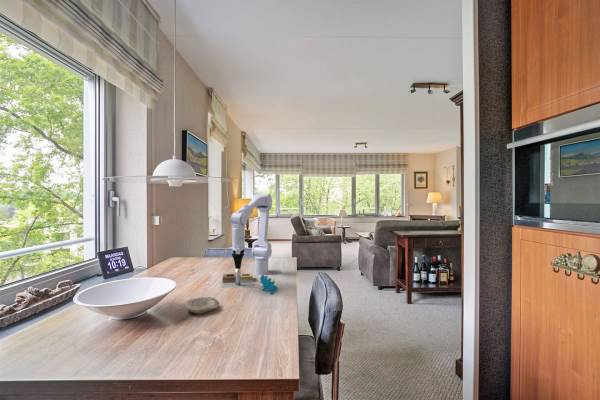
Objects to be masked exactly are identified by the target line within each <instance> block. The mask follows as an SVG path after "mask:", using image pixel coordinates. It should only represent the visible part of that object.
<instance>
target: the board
mask: <svg viewBox="0 0 600 400" xmlns="http://www.w3.org/2000/svg"><path fill="white" fill-rule="evenodd" d="M254 281H255V279H254V276H253V282H241V285H239V286H236V285H235V282H232V283H223V282H222V284H221V288H243V287H244V288H245V287H246V288H247V287H255V282H254Z"/></svg>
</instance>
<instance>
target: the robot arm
mask: <svg viewBox="0 0 600 400" xmlns="http://www.w3.org/2000/svg"><path fill="white" fill-rule="evenodd" d="M272 206H273V198H272V195H271V194H270V193H265V194H261V193H260V194H259V193H258V194H256V193H254V194H252V196H251V200H250V201H249V203H248V204H243V205H242V207H240V209H238V210H237V212H233V213H232V214H231V215H230V218H229V221H230V228H231V229H232V232H231V233H232V237H231V238H232V241H231V242H232V243H231V244H232V246H229V250H232V253H231V256H232V258H233V263H234V268H235V270H236V269H240V268H241V267H242V263H243V262H242V261H243V258H244V256H245V250H246V247H245V245H246V244H245V243H246V242H245V237H246V235H245V234H246V231H245V230H246V229H245V228H246V224H247V223H248V221H249V217H250V216H252V215H253V212H254V209H257V210H258V211H259V220H258V221H259V222H258V223H259V224H258V232H257V233H258V234H257V240H256V241H255V242H254V243H253V244H252V248H251V256H252V257H253V259H254V274H255V275H256V276H257V275H258V276H262V275H264V276H266V275H268V274H269V259H270V258H271V257H272V255H273V254H272V253H273V252H272V244H271V243H270V242H269V241H268V231H269V217H270V211H272ZM241 269H242V268H241Z"/></svg>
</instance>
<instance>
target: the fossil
mask: <svg viewBox="0 0 600 400" xmlns="http://www.w3.org/2000/svg"><path fill="white" fill-rule="evenodd" d="M219 306H220V302H219V301H218V300H217V298H214V297H209V296H206V297H205V296H204V297H197V298H191V299H189V300H187V301H186V302H185V307H186V310H188V311H189V312H191V313H193V314H198V315H201V314H205V313H207V312H209V311H211V310H217V309H218V308H219Z"/></svg>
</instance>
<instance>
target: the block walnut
mask: <svg viewBox="0 0 600 400" xmlns="http://www.w3.org/2000/svg"><path fill="white" fill-rule="evenodd" d="M235 281H236V273H223V275H222V283H232V282H235Z"/></svg>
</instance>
